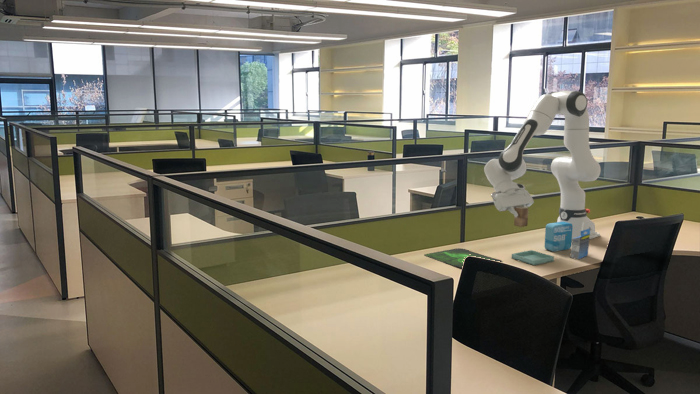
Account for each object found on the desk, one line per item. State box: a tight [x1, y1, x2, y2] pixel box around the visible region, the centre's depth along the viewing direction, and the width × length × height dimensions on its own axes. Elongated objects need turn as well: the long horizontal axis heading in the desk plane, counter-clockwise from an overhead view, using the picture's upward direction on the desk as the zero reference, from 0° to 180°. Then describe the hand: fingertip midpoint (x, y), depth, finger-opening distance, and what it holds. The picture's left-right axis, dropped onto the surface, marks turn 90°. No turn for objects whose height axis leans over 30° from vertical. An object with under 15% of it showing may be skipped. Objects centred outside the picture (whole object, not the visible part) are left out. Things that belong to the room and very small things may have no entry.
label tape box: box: [570, 228, 590, 260], centre depth 243 cm, size 9×4×12 cm, turn 133°
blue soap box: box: [544, 221, 573, 253], centre depth 255 cm, size 12×4×12 cm, turn 116°
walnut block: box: [513, 207, 529, 228], centre depth 251 cm, size 4×4×8 cm
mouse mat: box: [423, 247, 503, 270], centre depth 242 cm, size 27×22×1 cm
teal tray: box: [511, 249, 555, 266], centre depth 239 cm, size 12×12×2 cm
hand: (522, 215), depth 250 cm, fingers closed on walnut block, 4 cm apart
